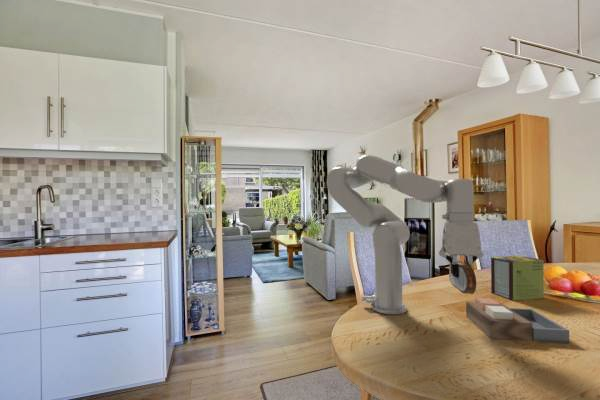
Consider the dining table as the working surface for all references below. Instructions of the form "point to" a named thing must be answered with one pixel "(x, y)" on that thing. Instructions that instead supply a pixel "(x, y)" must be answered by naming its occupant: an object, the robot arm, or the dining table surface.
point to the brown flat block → (500, 324)
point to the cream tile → (499, 312)
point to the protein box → (517, 277)
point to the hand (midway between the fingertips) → (461, 276)
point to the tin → (464, 278)
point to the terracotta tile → (485, 303)
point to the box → (543, 327)
